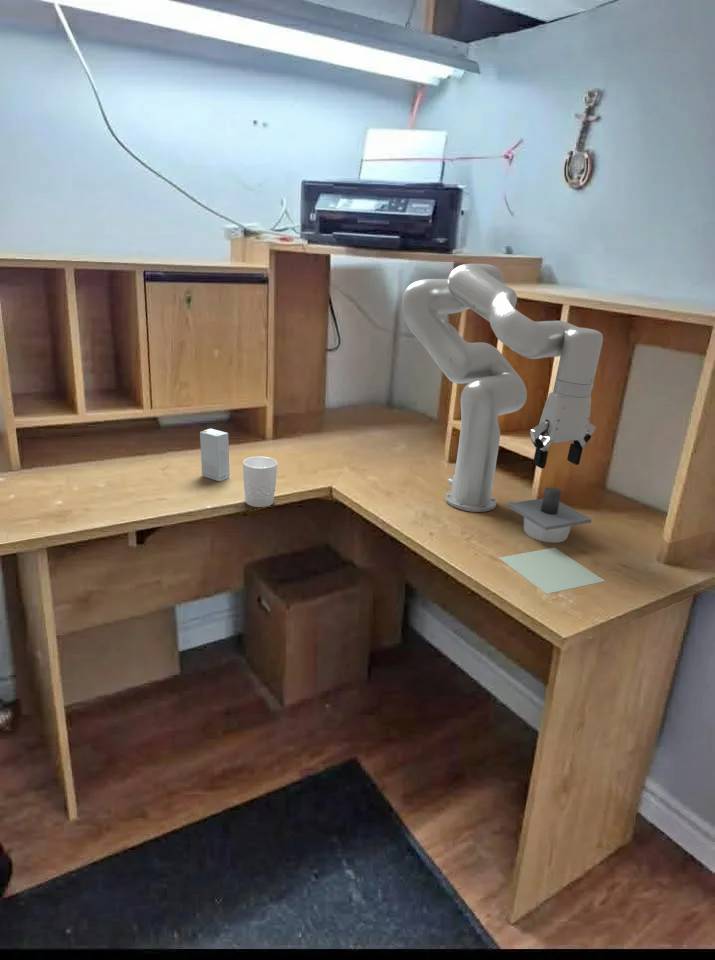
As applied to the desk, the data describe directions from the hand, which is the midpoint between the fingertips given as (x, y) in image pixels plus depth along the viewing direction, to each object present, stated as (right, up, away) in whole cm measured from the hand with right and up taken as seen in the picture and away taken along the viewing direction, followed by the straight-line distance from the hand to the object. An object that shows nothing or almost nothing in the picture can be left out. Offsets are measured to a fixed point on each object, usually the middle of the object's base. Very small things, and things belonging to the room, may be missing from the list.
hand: (555, 464), depth 146 cm
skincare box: (-80, -3, +24) cm, 83 cm away
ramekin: (-1, -16, +6) cm, 17 cm away
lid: (0, -11, +4) cm, 12 cm away
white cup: (-67, -9, +12) cm, 68 cm away
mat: (-4, -22, -10) cm, 25 cm away
